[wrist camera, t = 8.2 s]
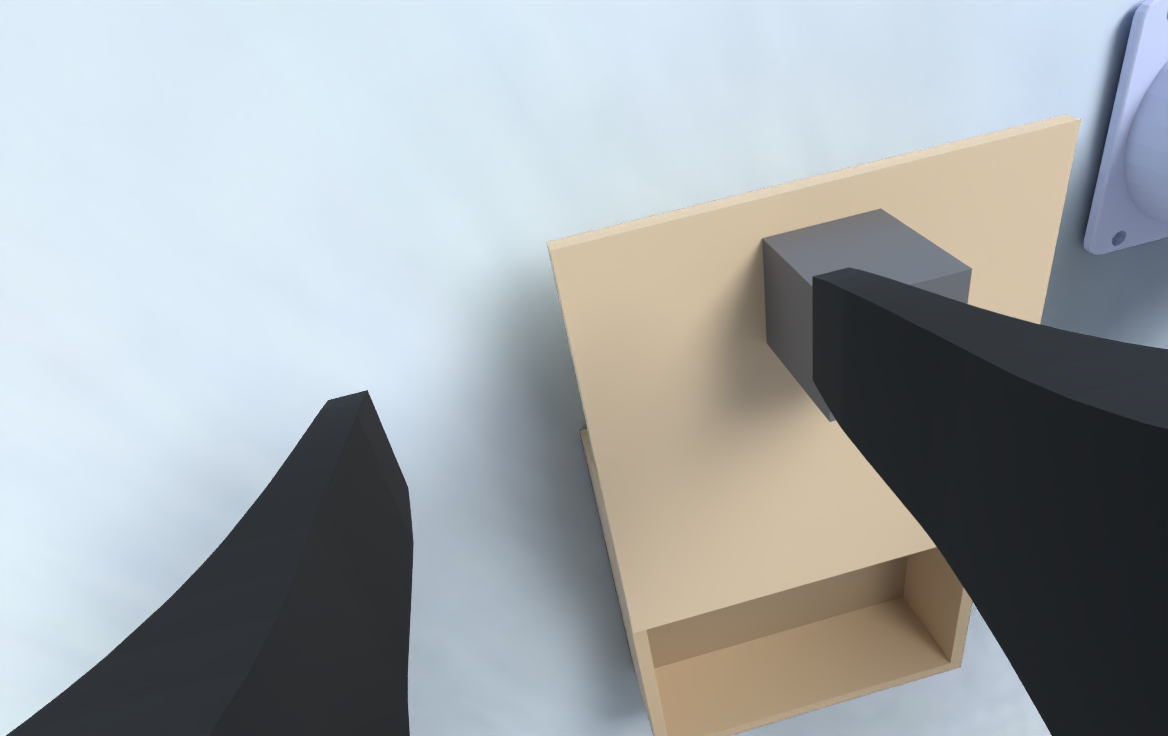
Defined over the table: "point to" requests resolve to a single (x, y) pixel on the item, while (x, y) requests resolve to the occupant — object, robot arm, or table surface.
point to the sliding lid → (779, 358)
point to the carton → (795, 643)
